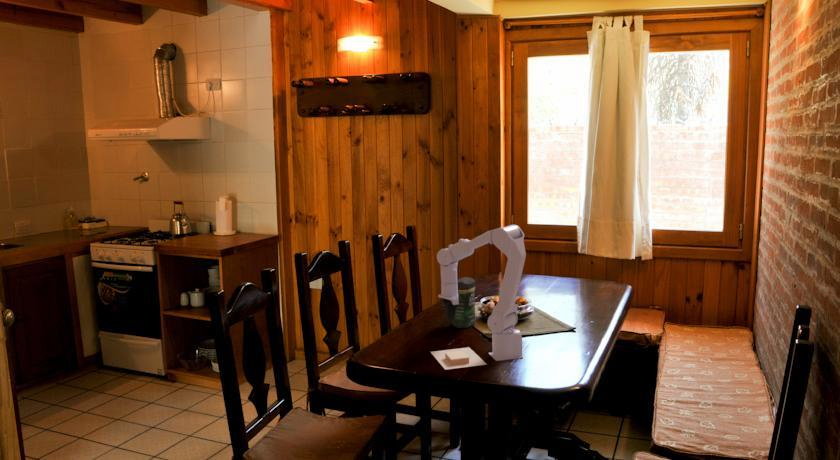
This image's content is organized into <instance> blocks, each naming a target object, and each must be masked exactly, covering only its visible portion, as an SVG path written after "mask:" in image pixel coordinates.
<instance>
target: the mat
mask: <svg viewBox="0 0 840 460" xmlns="http://www.w3.org/2000/svg"><path fill="white" fill-rule="evenodd" d="M455 351H463V352H464V353H465V354H466V355H467V356H468V357H469V363H467V364H459V365H451V364H450V363H449V362H448V361H447V360H446V359H445V353H447V352H455ZM430 353H431V355H432V356H433V357H434V358H435V359H436V360H437V362H438V364H440V365H441V367H442V368H443V369H444V370H446V371H447V370H448V371H449V370H454V369H461V368H470V367H478V366H485V365H488V364H487V363H486V362H485V361H484V360H483V359H482V358H481V357H480V355H478V354H477V353H476V352H475V351H474V350H473V349H471V347H469V346H467V347H460V348H452V349H444V350H443V349H442V350H436V351H435V350H434V351H430Z"/></svg>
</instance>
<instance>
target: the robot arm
mask: <svg viewBox="0 0 840 460" xmlns="http://www.w3.org/2000/svg"><path fill="white" fill-rule="evenodd" d="M524 238H525V233H524V232H523V230H522V229H521V227H520V226H519V225H517V224H509V225H506V226H502V227H498V228H497V227H496V228H495V229H492V230H487V231H486V232H484V233H482V234H480V235H478V236H476V237H474V238H472V239H468V238H465V239H464V238H460V239H458V242H456V243H454V244H452V243H451V244H448V247H447V248H441V249H440V250H438V252H437V253H436V260H437V263H439V266H440V291H441V292H440V294H438V295H437V297H438V298H440V302H441V305H442V306H443V307H442V308H443V309H444V313H445V317H446V320H447V321H452V320H454V317H455V312H456V308H457V306H458V304H459V299H458V282H457V280H458V266H459V265H458V264H459V261H461V260H463V259H466V258H467V257H470V256H471V255H473V254H474V252H475V250H476V249H478V248H480V247H482V246H484V245H487V244H490V245H494V246H495V248H497V249H498V250H500V251H501V253H503V254H504V255H505V256H506V258H507V260H506V266H505V271H504V274H503V279H502V283H501V287H500V293H499V297H498V301H497V303H496V305H495V306H494V307H493V309H492V311H491V314H490V315H489V316H488V318H487V321H488V326H489V328H490V330H491V331H490V330H489V331H490V333H491V341H492V342H491V343H492V349H491V350H492V351H491V352H488V355H489V356H490V357H492V358H493V360H495V361H496V362H498V361H506V360H516V359H523V358H524V356H523V336H522V332H521V330H520V329H518V328H516V329H515V325H516V324H517V323H518V319H519V317H518V307H517V306H516V301H517V296H518V292H519V288H520V283H521V279H522V275H523V270H524V267H525V261H526V258H527V252H526V247H525V241H524ZM441 298H442V299H441ZM488 326H487V327H488Z"/></svg>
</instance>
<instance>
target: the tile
mask: <svg viewBox="0 0 840 460" xmlns="http://www.w3.org/2000/svg"><path fill="white" fill-rule="evenodd" d="M445 359H446V360H447V361H448V362H449V363H450V364H451V365H459V364H467V363H469V357H468V356H467V355H466V354H465V353H464V352H463V351H455V352H447V353H445Z"/></svg>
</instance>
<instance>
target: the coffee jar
mask: <svg viewBox="0 0 840 460" xmlns="http://www.w3.org/2000/svg"><path fill="white" fill-rule="evenodd" d="M457 282H458V299H459V304H458V306H457V308H456V312H455V317H454V320H451V323H452V326H453V327H456V328H459V329H462V328H470V327H471V326H473V324H474V325H475V324H476V322H477V320H476V305H475V290H476V282H475V279H474V278H473V277H468V276H463V277H461V278H457Z"/></svg>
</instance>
